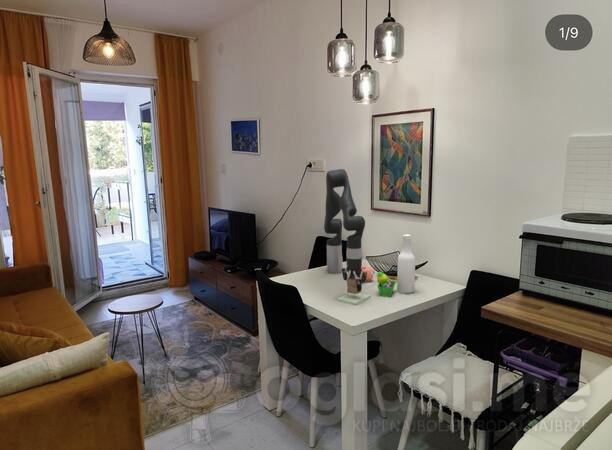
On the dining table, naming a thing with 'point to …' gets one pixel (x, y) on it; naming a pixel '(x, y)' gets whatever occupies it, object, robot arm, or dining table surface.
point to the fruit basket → (385, 285)
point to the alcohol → (406, 267)
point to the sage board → (354, 298)
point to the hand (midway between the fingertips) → (354, 289)
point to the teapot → (368, 269)
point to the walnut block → (352, 285)
